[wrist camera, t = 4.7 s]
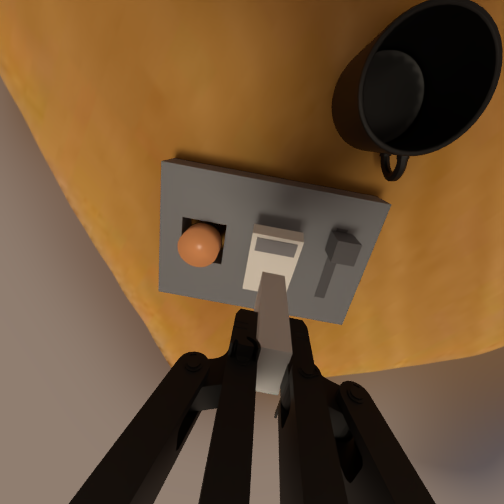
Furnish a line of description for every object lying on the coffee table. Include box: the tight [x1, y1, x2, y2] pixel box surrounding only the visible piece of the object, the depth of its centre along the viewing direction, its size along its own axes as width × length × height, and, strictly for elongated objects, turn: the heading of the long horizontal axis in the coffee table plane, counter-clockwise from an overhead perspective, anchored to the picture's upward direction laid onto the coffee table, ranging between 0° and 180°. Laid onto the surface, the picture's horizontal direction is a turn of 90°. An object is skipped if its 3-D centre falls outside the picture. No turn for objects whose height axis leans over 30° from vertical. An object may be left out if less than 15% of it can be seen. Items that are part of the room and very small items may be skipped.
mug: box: [332, 0, 502, 181], centre depth 22 cm, size 9×12×9 cm
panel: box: [159, 158, 391, 325], centre depth 31 cm, size 16×24×5 cm, turn 80°
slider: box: [325, 231, 362, 267], centre depth 27 cm, size 2×2×3 cm
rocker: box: [242, 224, 304, 292], centre depth 27 cm, size 8×5×2 cm, turn 171°
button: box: [177, 222, 222, 267], centre depth 30 cm, size 4×4×6 cm
